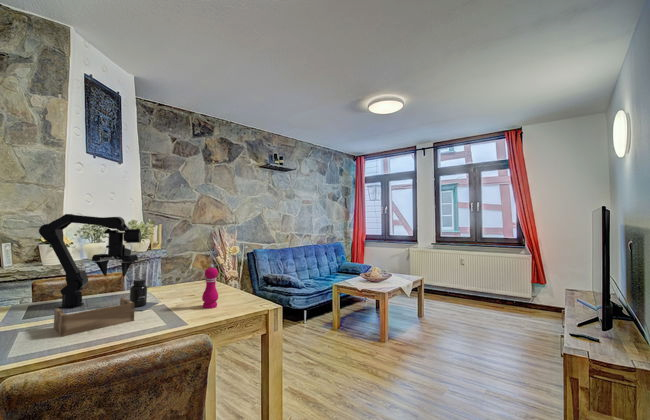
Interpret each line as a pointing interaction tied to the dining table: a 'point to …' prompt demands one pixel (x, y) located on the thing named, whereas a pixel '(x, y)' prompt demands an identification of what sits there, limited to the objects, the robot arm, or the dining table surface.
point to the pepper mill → (210, 288)
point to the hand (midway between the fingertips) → (114, 275)
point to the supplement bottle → (138, 293)
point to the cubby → (93, 318)
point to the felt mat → (148, 305)
